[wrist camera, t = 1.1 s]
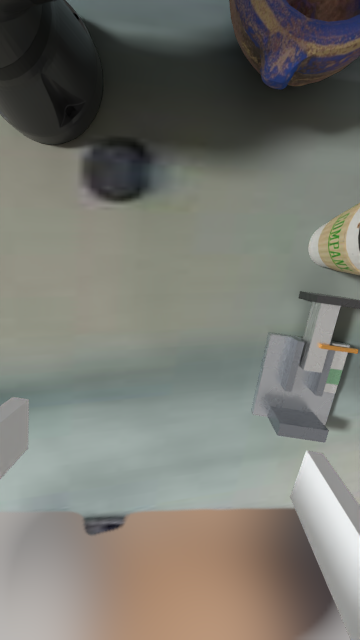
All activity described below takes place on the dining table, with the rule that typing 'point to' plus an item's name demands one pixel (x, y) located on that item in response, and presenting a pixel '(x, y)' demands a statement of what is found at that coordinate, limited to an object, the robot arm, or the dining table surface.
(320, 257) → the coffee cup
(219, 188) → the dining table surface
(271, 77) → the bowl
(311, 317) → the plunger
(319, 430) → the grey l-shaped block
